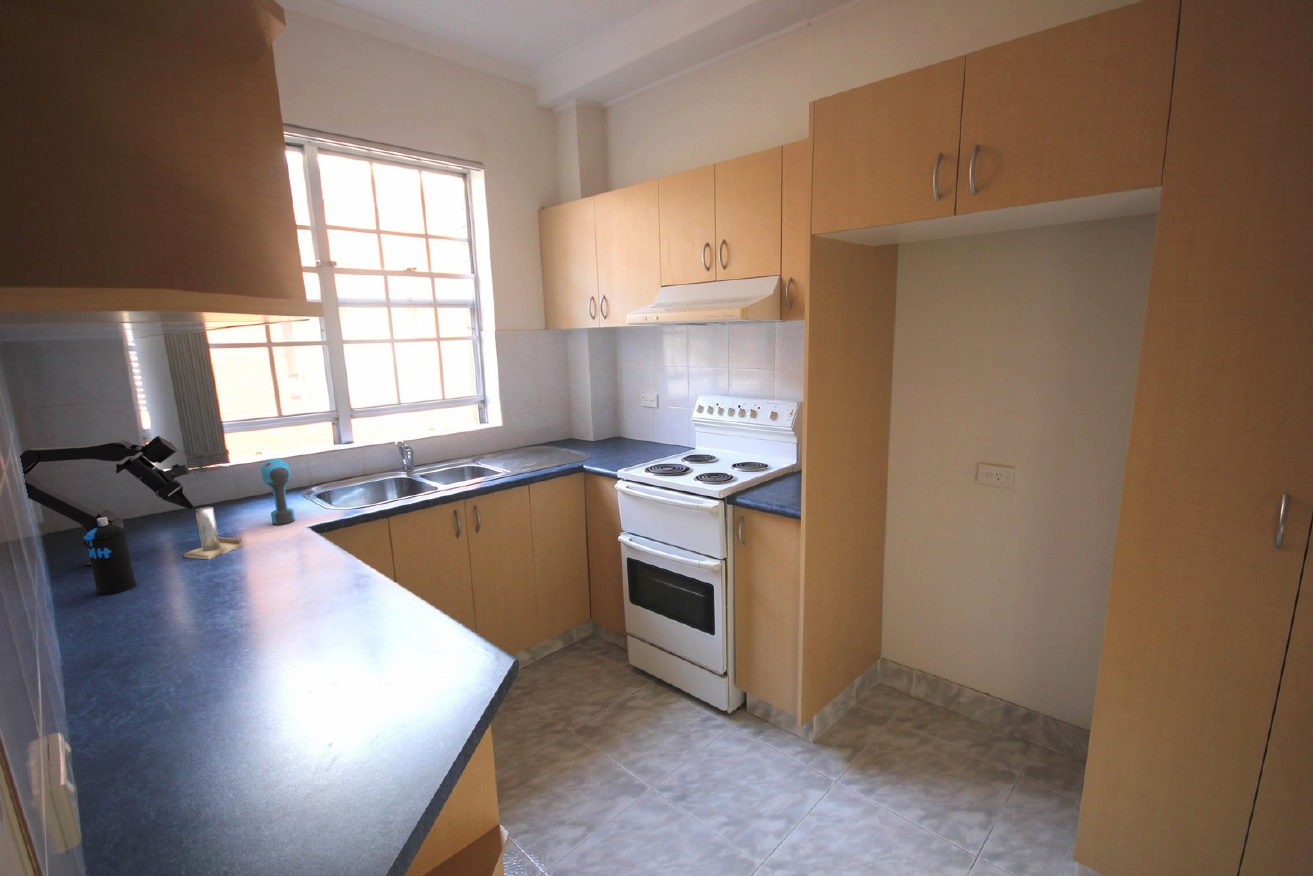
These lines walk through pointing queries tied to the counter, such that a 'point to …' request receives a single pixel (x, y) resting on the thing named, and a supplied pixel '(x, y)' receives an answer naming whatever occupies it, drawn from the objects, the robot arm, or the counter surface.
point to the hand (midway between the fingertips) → (190, 507)
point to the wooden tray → (225, 547)
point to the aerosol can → (110, 558)
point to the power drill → (278, 489)
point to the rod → (207, 528)
